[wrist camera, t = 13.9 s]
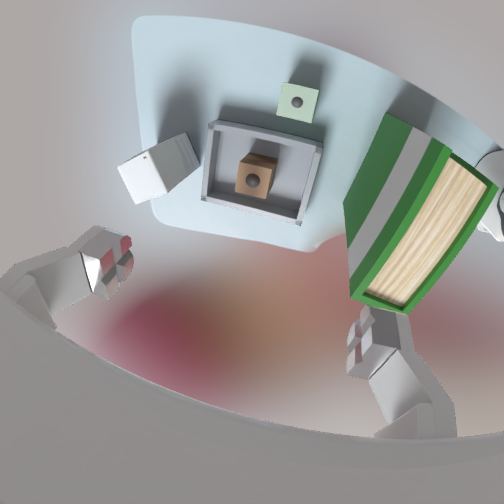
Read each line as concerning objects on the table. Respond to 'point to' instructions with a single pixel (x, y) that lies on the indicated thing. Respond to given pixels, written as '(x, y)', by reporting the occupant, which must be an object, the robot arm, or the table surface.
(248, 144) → the tray
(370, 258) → the hardback book
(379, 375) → the robot arm
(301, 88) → the sage block
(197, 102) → the table surface
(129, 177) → the supplement box
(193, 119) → the table surface
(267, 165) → the walnut block
